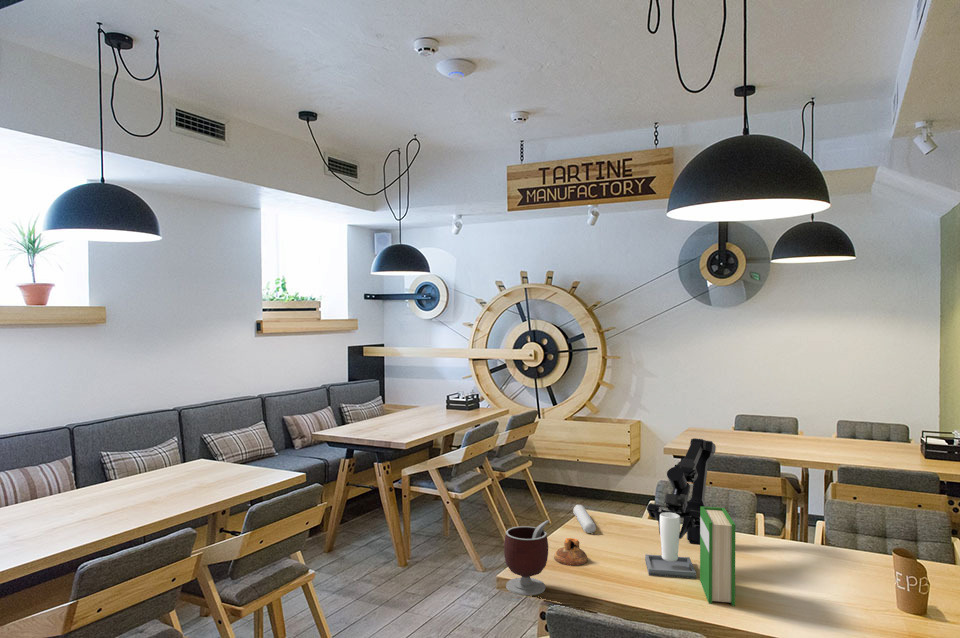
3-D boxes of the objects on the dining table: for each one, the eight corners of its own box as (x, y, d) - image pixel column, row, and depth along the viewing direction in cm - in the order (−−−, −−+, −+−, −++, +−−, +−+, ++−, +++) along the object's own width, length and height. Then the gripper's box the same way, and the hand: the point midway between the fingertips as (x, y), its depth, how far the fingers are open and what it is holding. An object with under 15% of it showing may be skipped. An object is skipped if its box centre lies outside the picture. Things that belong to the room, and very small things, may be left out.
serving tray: (689, 563, 220) (689, 557, 220) (696, 578, 206) (696, 572, 206) (645, 560, 223) (645, 554, 223) (648, 575, 209) (648, 569, 209)
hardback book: (735, 606, 186) (735, 524, 187) (708, 603, 188) (709, 522, 188) (723, 582, 204) (724, 507, 204) (699, 580, 205) (700, 506, 205)
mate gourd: (518, 600, 189) (518, 533, 189) (495, 583, 201) (496, 520, 202) (560, 590, 196) (561, 525, 196) (536, 574, 208) (537, 514, 209)
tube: (599, 525, 250) (586, 506, 275) (586, 520, 250) (575, 502, 275) (594, 537, 250) (582, 518, 275) (582, 533, 250) (571, 514, 275)
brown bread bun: (586, 554, 228) (586, 534, 228) (588, 567, 216) (588, 545, 216) (553, 553, 229) (553, 533, 229) (554, 565, 217) (554, 544, 217)
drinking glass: (674, 555, 219) (674, 511, 219) (683, 562, 212) (683, 517, 212) (656, 556, 218) (656, 512, 218) (664, 563, 211) (664, 518, 211)
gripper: (648, 480, 225) (637, 519, 215) (702, 488, 214) (693, 529, 205) (655, 497, 231) (645, 535, 222) (708, 505, 221) (699, 546, 212)
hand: (669, 536), depth 215 cm, fingers closed on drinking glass, 6 cm apart
